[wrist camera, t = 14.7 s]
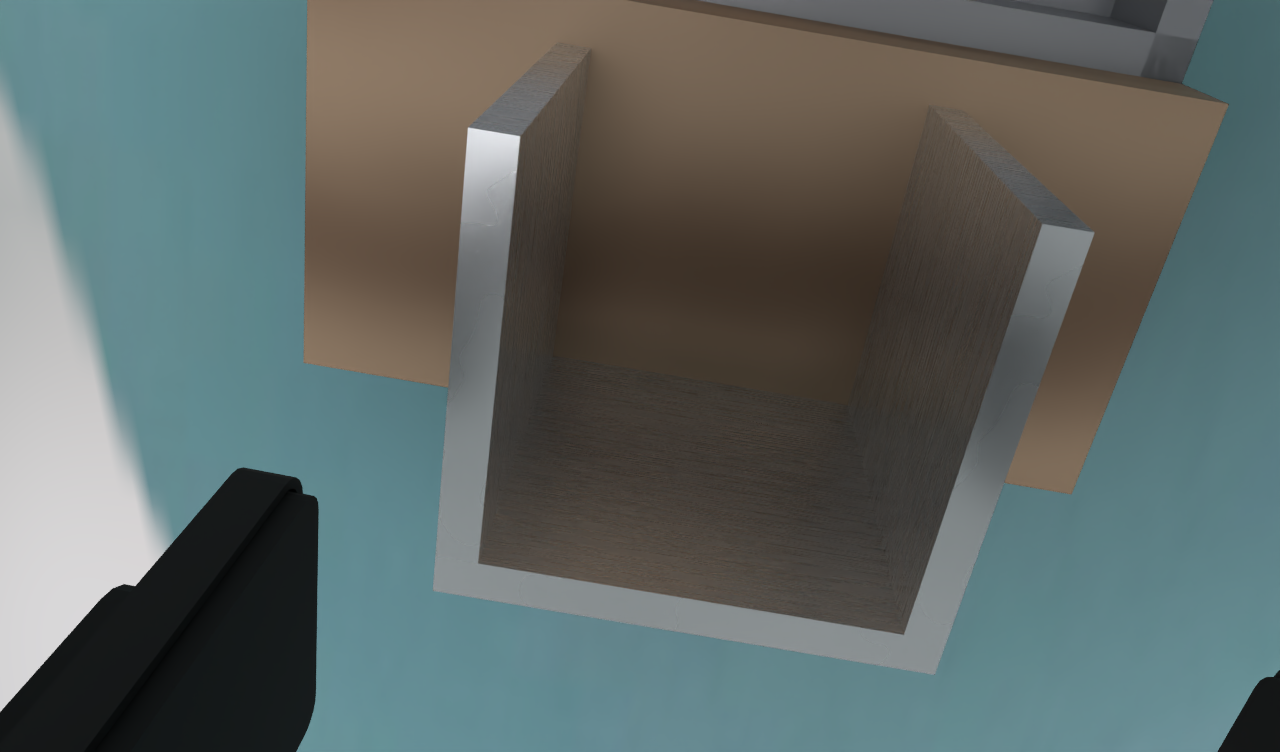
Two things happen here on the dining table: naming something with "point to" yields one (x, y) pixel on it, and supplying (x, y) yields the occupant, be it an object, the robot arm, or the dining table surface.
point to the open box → (744, 414)
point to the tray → (1030, 27)
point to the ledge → (721, 190)
